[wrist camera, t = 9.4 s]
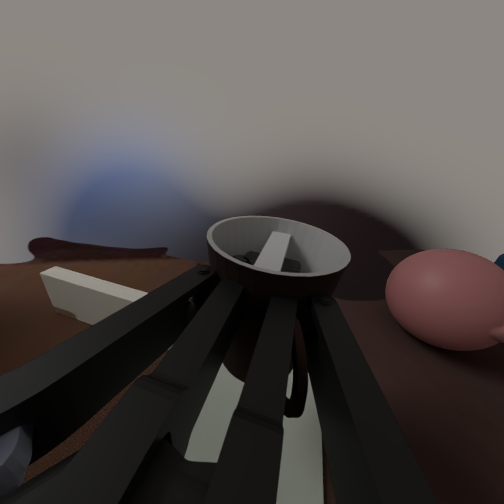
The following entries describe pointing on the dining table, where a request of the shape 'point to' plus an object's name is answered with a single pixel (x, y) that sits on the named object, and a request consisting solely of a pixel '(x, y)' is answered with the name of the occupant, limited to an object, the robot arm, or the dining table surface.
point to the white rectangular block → (86, 295)
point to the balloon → (449, 299)
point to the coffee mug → (274, 286)
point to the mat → (294, 441)
